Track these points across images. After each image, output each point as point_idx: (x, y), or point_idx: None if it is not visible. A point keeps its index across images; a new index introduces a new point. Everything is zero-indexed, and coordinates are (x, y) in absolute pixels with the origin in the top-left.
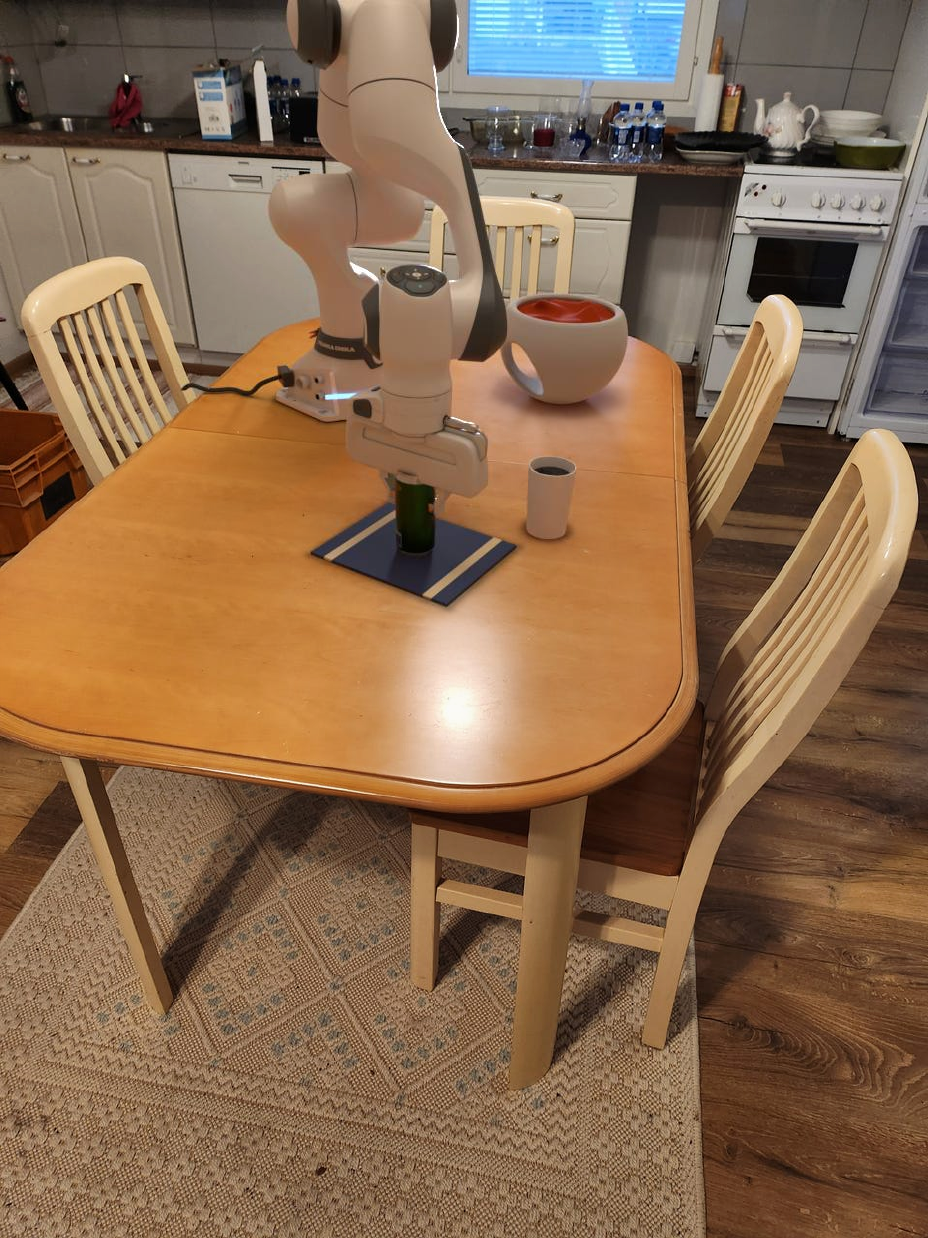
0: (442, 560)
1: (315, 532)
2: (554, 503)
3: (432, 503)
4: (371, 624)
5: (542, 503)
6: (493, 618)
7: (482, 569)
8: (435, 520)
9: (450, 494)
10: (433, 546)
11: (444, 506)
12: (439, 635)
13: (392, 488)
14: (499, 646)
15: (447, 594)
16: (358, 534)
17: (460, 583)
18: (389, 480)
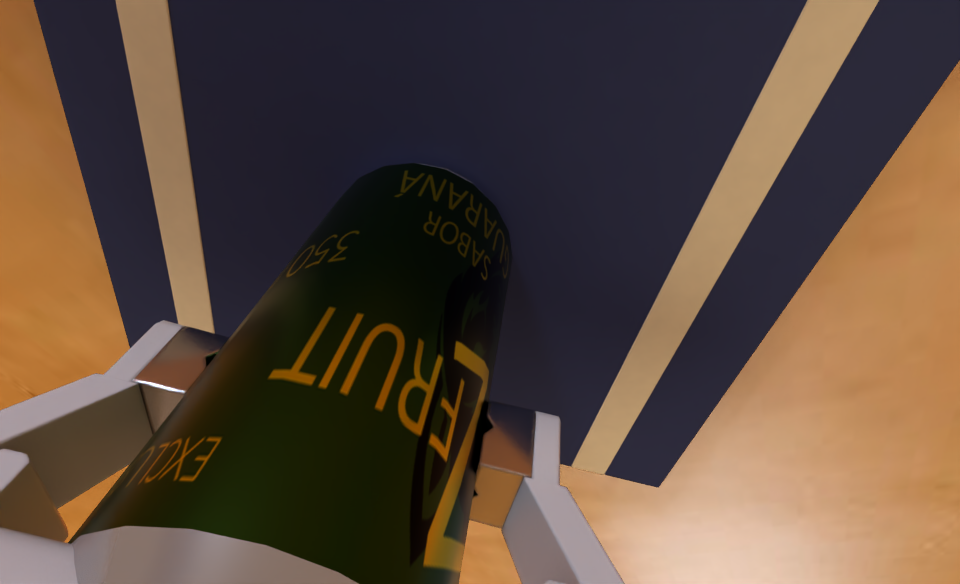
0: (574, 289)
1: (21, 229)
2: None
3: (488, 517)
4: (488, 547)
5: None
6: (815, 497)
7: (767, 303)
8: (493, 312)
9: (608, 560)
10: (511, 261)
11: (559, 453)
12: (663, 557)
13: (145, 433)
14: (832, 570)
15: (649, 452)
16: (160, 216)
17: (683, 399)
18: (76, 470)
